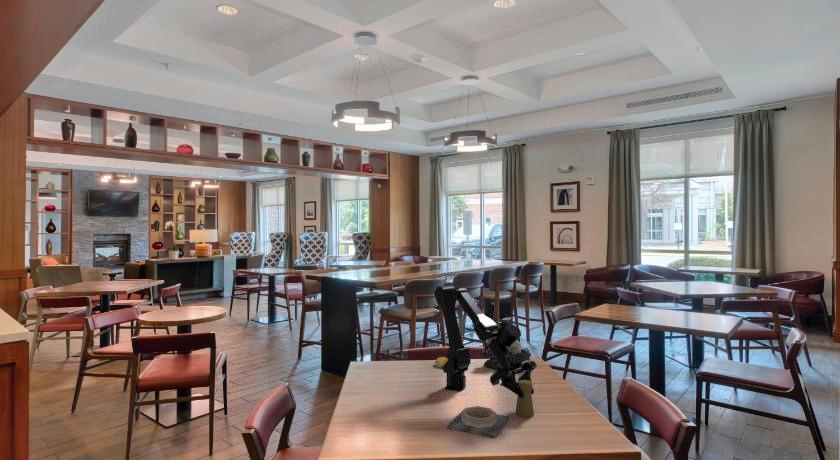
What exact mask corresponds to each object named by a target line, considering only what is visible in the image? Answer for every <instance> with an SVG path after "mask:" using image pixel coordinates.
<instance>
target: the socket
mask: <svg viewBox="0 0 840 460" xmlns="http://www.w3.org/2000/svg"><path fill="white" fill-rule="evenodd" d="M509 420H510V416H509V415H503V414H498V413H497V412H496V411H494V410H493V409H492V408H489V407H484V406H479V405H477V406H469V407H465V408H464V409H462V410H461V411H460V412H459V414H457V415H456V416H455V417H454V418H453V419H452V420H451V421H450V422H449V423H448V424H447V426H446V427H447V429H449V430H453V431H459V432H463V433H469V434H473V435H477V436H483V437H488V438H493V439H495V438H497V436H498V435H499V433H500V432H501V430H503V428H504V427H505V425H506V424H507V423H508V421H509Z"/></svg>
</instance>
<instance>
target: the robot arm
mask: <svg viewBox="0 0 840 460" xmlns="http://www.w3.org/2000/svg"><path fill="white" fill-rule="evenodd" d="M433 295H434V297H435V301H436V303H437V305H438V306H439V307H440V309H441V310H442V315H443V320H444V324H445V325H444V326H445V330H446V335H447V339H448V340H447V341H448V346H449V347H448V351H447V354H446V355H447V356H446V358H448V361H447V362H446V363H445V364H444V365H443V368H442V372H443V373H445V374H446V386H444V389H445V390H452V391H458V392H462V390H464V389H465V387H466V386H467V384H466V382H467V377H466V375H465V372H468V370H469V366H470V365H471V362H472V361H471V359H472V356H471V354H470V348H469V347H465V346H464V344H463V341H462V336H461V332H460V331H461V330H460V326H459V323H458V316H457V311H456V304H457V302H458V304H459V305H460V306H461V308H462V309H463V311H464V312H465V314H466V315H467V316H468V317H469V319H470V321H471V322H472V325H473V331H474V332H475V334H476V336H477V338H478V339H479V340H480V341H487V340H489V339H492V340H491V341H490V342H488V341H487V342H488V343H487V342H485V343H484V344H485V345H484V348H483V350H484V351H488V350H490V351H491V353H492V354H493V356H494V358H495V359H496V362H495V364H496V365H499V366H500V367H501V369H499V368H498V369H496V370H495V371H494V372H493V373H492V374H491V376H489V382H490V383H491V385H492V386H493V387H494V386H496V385H499V386H500V387H502V386H503V387H504V388H505V389H507V390H509V391H511V392H512V393H513V394H514V395H517V397H518V396H519V397H521V398H523V397H524V395H523V393H522V391H521V389H520V387H519V385H518V384H517V382H518V381H520V380H528V381H530V382H531V383H532V384H533V382H532V379H531V378H532V377H531V374H532V372H533V371H534V370H535V369H536V368H537V367H538V364H536V362H535V361H534V360H531V357H532V352H531V351H530V350H529V349H528V347H525V348H523V349H521V350H520V352H519V353H517V354H515V352H513V351H512V352H510V350H509V349H508V347H511V346H512V345H513V344H514V343H515V342H516V341H519V338H521V336H522V331H521V330H520V328H519V327H518V326H516V325H515V324H513V323H511V322H510V321H505V322H504V323H503V325H502V326H499V325H498V324H497V323H496V322H495V321H494V320H493V319H492V318H490V317H488V316H486V315H485V314H484V313H483V311H482V310H481V309H480V307H479V305H477V302H475V300H474V299H473V298H472V297H471V294H470V293H469V290H468V289H467V288H465V287H456V286H453V285H451V284H449V285H439V286H437V287H436V288H435V290H434V294H433ZM496 337H497V338H496ZM494 338H496V339H494ZM520 365H522V366H521V367H519V366H520ZM516 375H518V376H517V377H519V378H517V380H516ZM500 381H501V383H500ZM533 394H535V390H534V388H533V389H532V391H531V395H533Z"/></svg>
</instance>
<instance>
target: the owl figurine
mask: <svg viewBox="0 0 840 460" xmlns="http://www.w3.org/2000/svg"><path fill="white" fill-rule="evenodd" d="M496 338H497V337H496ZM496 338H494V339H496ZM491 340H492V339H489V340H486V341H487V342H486V343H488V342H490V341H491ZM508 349H509V350H510V352H512V351H513V352H515V354H517V353H520V352H521V350H522V349H521V343H520V341H519V340H517V341H516V342H515V343H514V344H513V345H512V346H511V347H508ZM481 352H482V354H484V356H487V357H490V358H489V359H487V360H486V361H484V363H483V365H484V366H485V367H486V368H487V367H488V369H490V368H492V370H499V369H501V367H500V366H499V365H496V364H495V362H496V359H495V358H494V356H493V354H492V353H491V351H490V350H488V351H484V349H482V350H481ZM522 365H523V364H522ZM522 365H520V366H519V367H521V366H522Z"/></svg>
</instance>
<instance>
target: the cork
mask: <svg viewBox="0 0 840 460" xmlns="http://www.w3.org/2000/svg"><path fill="white" fill-rule="evenodd" d="M516 382H517V384H518V385H519V387H520V389H521V391H522V393H523V395H524V397H523V398H521V397H519V396H518V395H517V397H516V404H515V405H516V406H515V413H514V414H515V415H516V416H518V417H519V418H523V419H531V418H533V417H534V416H535V413H534V412H535V411H534V404H533V396H532V395H533V394H531V391H532V389H534V384H533V382H532V381H531V382H532V383H531V382H530V381H528V380H520V381H518V380H517V381H516Z"/></svg>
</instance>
